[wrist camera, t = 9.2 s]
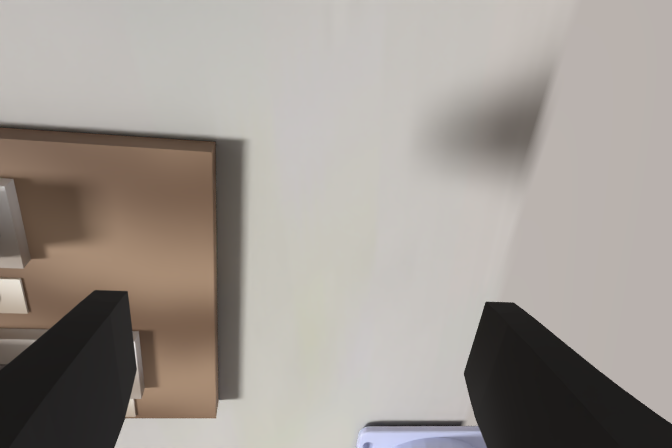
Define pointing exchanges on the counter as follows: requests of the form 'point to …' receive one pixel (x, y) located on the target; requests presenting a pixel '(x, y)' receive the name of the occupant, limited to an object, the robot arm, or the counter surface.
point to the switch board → (116, 252)
